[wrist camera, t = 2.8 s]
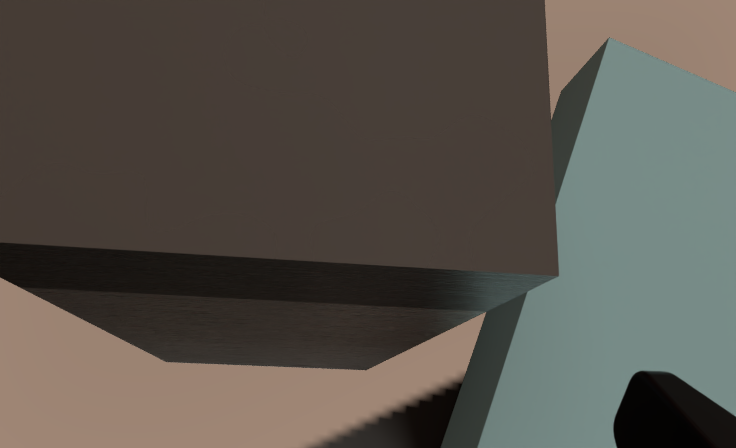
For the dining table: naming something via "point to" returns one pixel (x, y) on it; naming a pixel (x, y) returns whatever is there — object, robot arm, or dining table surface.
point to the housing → (276, 170)
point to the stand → (618, 262)
